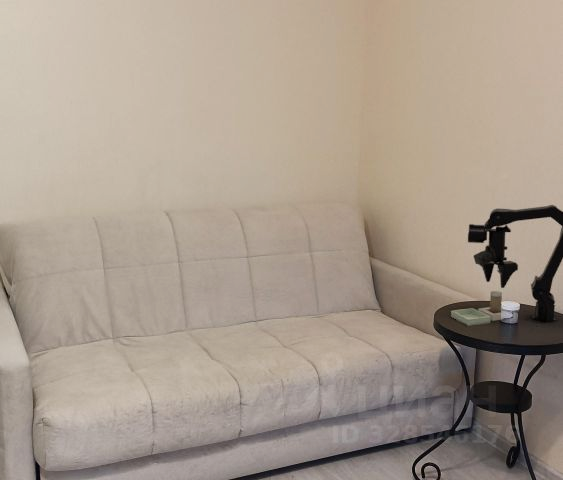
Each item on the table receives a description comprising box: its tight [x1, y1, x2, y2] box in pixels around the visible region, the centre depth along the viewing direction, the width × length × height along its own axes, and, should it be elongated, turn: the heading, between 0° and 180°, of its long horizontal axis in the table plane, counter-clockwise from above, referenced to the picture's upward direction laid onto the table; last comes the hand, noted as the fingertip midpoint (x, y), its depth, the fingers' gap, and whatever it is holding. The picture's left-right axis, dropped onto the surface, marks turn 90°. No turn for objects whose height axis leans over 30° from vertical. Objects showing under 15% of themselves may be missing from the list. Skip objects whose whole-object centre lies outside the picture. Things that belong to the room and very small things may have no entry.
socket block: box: [477, 306, 502, 322], centre depth 255 cm, size 9×9×2 cm
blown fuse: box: [489, 290, 503, 313], centre depth 255 cm, size 4×4×9 cm
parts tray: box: [450, 307, 491, 327], centre depth 251 cm, size 11×9×2 cm
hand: (495, 284), depth 254 cm, fingers open, 9 cm apart
